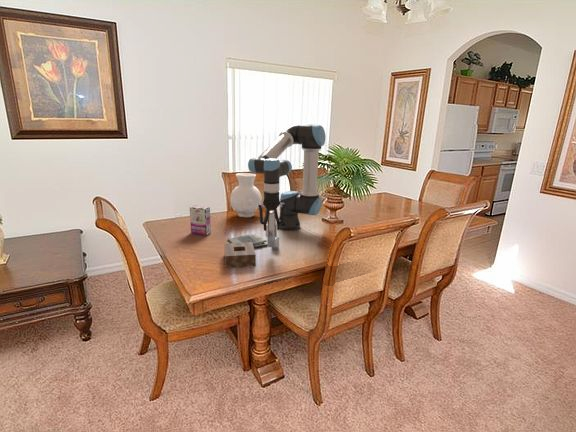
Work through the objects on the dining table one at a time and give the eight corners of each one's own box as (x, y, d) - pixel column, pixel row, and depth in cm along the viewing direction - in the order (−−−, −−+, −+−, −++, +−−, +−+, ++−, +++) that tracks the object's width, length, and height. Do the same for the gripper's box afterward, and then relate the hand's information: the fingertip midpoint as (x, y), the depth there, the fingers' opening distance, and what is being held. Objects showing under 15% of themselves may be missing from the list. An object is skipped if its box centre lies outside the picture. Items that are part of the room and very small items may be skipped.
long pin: (274, 244, 172) (274, 210, 166) (275, 247, 168) (276, 213, 163) (266, 244, 171) (266, 211, 166) (268, 247, 167) (268, 213, 162)
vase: (265, 217, 235) (266, 175, 227) (238, 221, 224) (237, 177, 215) (253, 210, 250) (253, 171, 241) (226, 214, 238) (225, 173, 230)
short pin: (278, 247, 182) (278, 237, 180) (279, 250, 178) (279, 239, 177) (271, 247, 181) (271, 237, 180) (272, 250, 178) (272, 239, 176)
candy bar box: (211, 233, 200) (210, 207, 195) (206, 236, 196) (205, 209, 191) (195, 230, 204) (194, 204, 199) (190, 233, 199) (189, 206, 194)
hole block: (252, 253, 173) (252, 242, 172) (255, 266, 158) (255, 254, 157) (224, 254, 170) (224, 243, 169) (225, 268, 156) (225, 256, 154)
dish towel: (226, 241, 190) (226, 236, 189) (255, 236, 198) (255, 231, 198) (238, 252, 174) (238, 247, 174) (269, 247, 183) (269, 241, 182)
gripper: (287, 188, 166) (286, 232, 173) (253, 189, 163) (253, 234, 170) (290, 192, 159) (289, 238, 166) (255, 193, 156) (255, 240, 163)
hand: (271, 236), depth 168 cm, fingers closed on long pin, 4 cm apart
